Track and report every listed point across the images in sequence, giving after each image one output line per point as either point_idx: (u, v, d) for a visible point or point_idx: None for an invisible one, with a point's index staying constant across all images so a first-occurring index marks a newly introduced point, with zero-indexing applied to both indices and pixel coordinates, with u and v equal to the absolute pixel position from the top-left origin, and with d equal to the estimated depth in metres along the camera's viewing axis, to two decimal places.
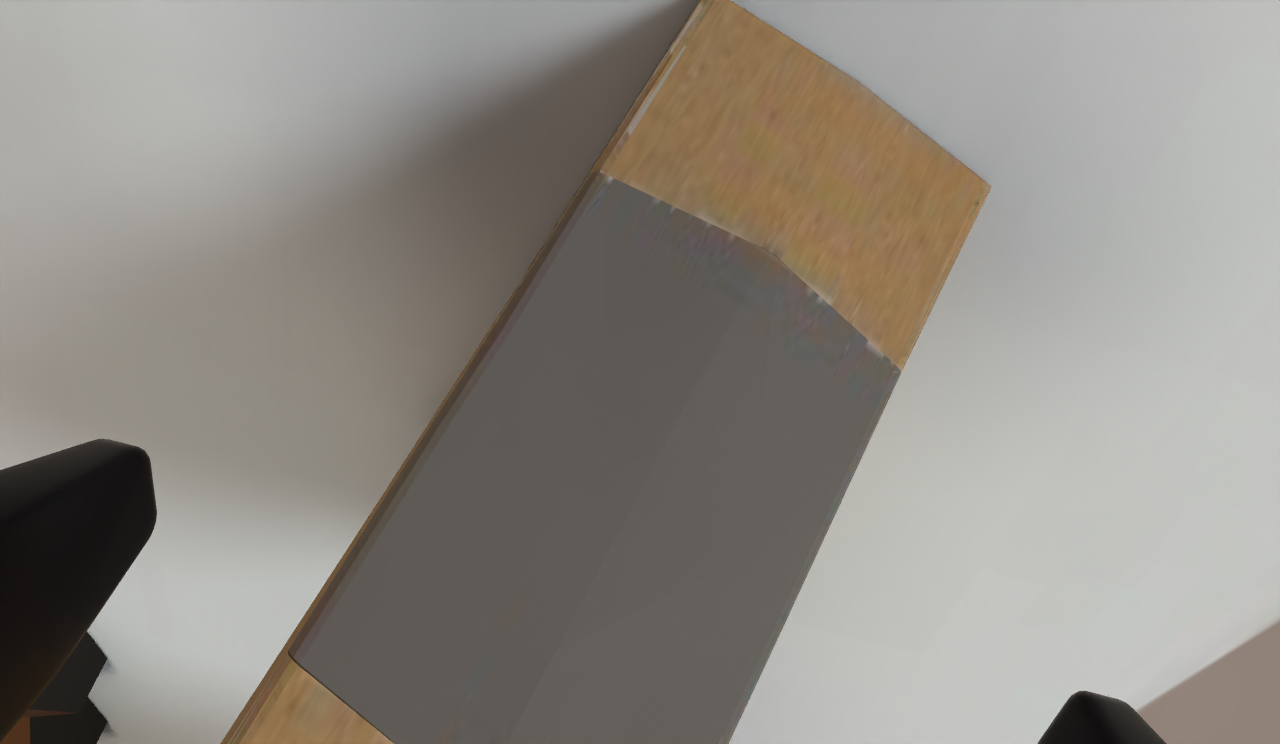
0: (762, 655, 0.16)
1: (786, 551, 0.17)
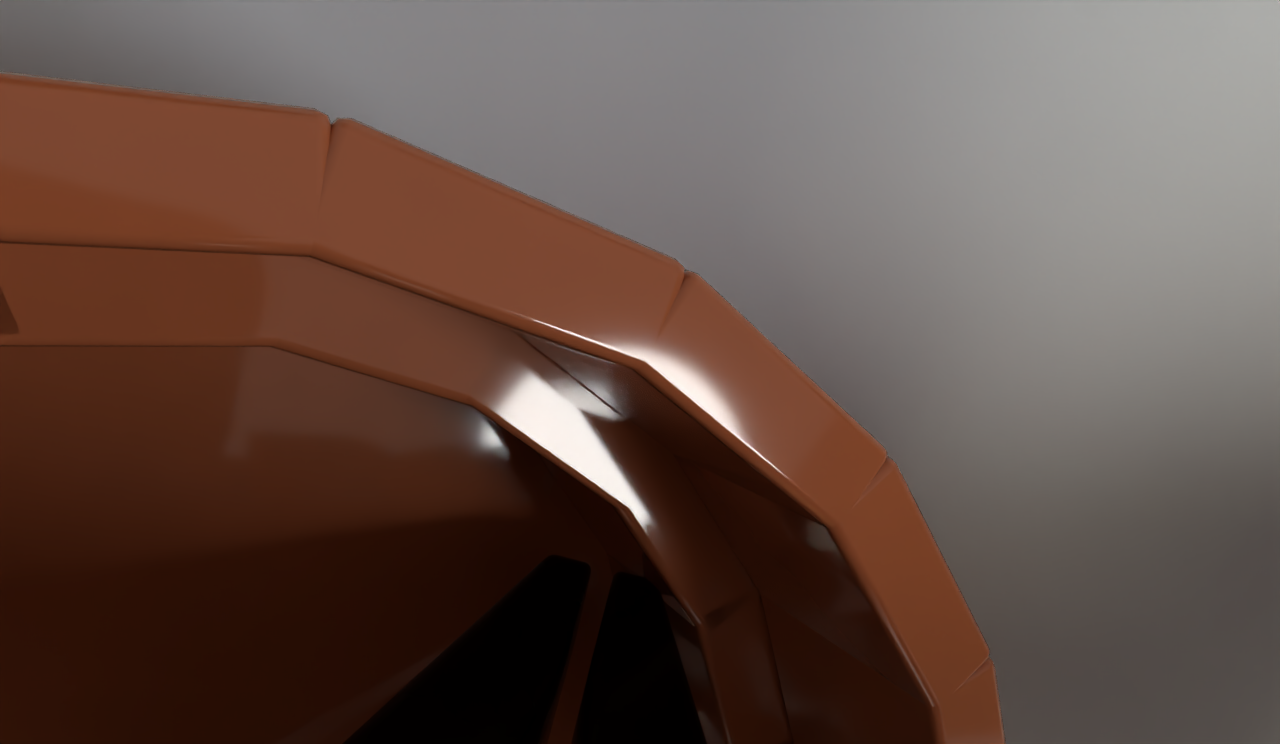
0: None
1: None
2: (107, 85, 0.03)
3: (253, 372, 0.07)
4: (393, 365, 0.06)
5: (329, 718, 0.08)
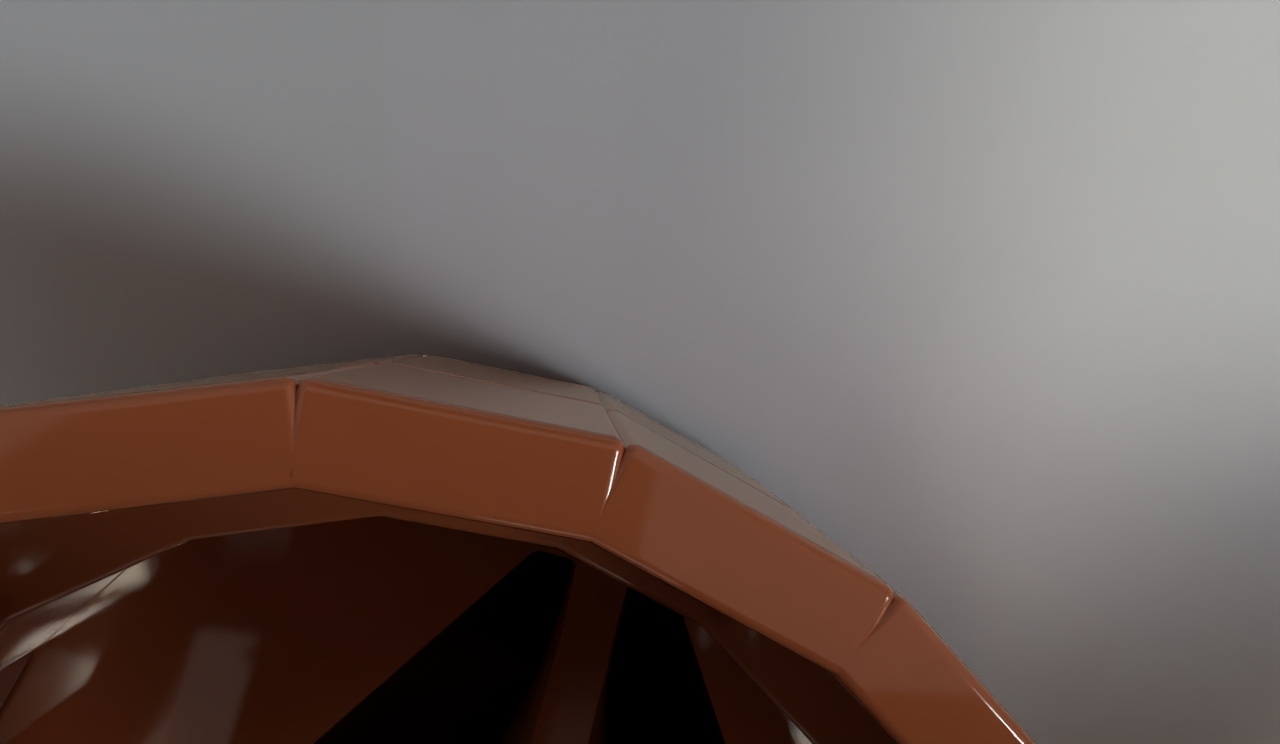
0: None
1: None
2: (486, 413, 0.04)
3: None
4: (644, 581, 0.07)
5: None
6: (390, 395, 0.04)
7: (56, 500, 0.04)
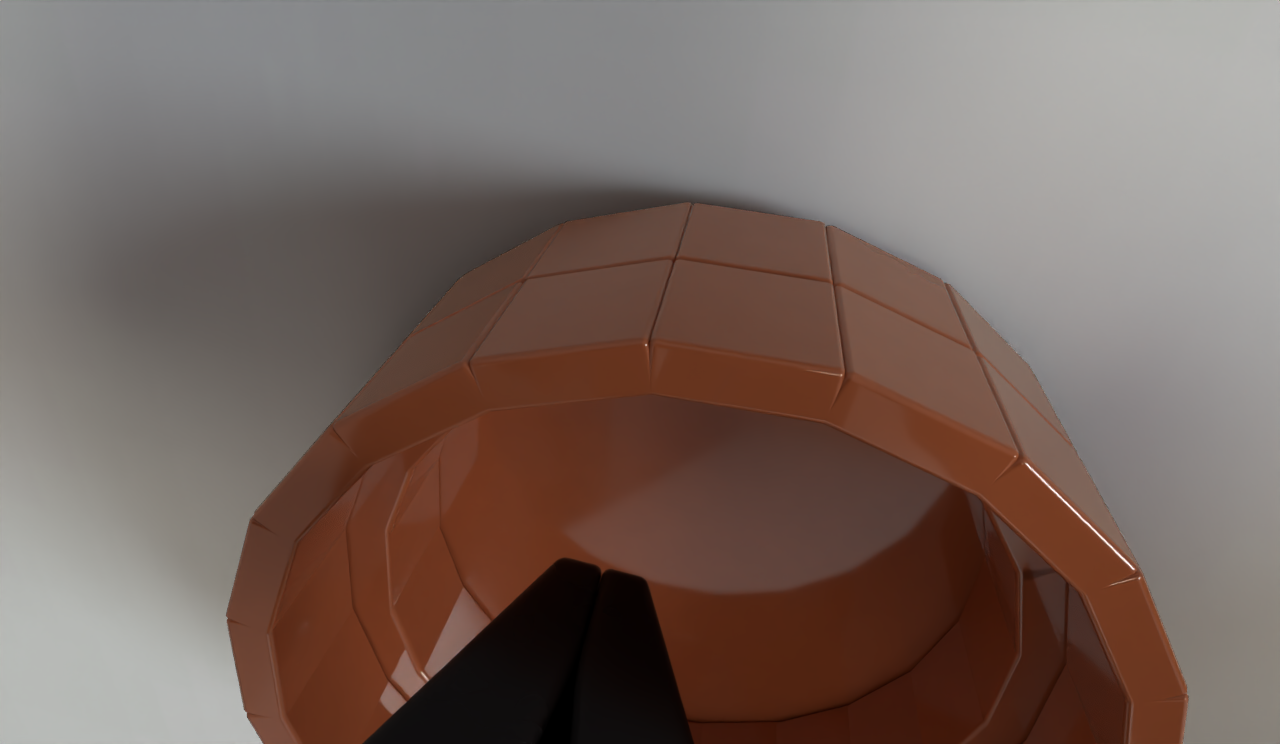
0: None
1: None
2: (758, 355, 0.07)
3: None
4: None
5: (781, 519, 0.13)
6: (701, 344, 0.07)
7: (531, 401, 0.08)
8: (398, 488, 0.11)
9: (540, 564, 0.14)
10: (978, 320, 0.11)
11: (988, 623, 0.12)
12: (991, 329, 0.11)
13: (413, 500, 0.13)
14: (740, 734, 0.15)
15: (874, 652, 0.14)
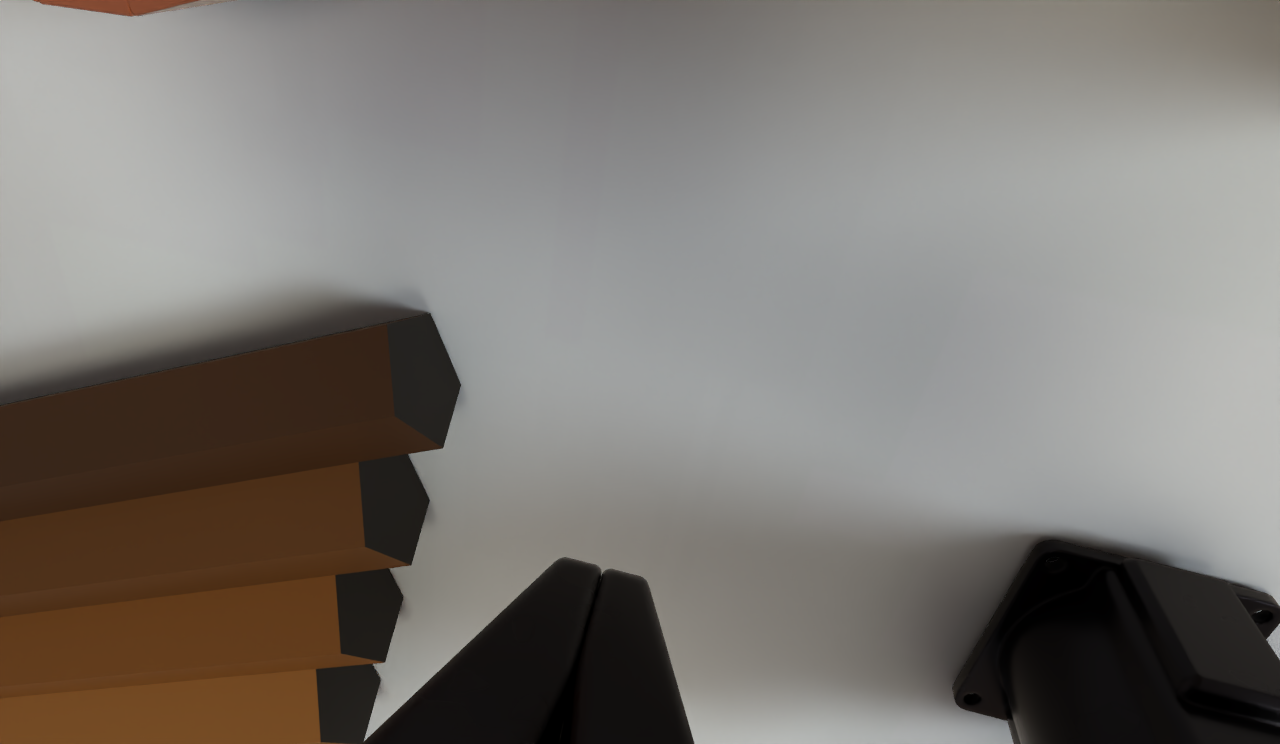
0: None
1: None
2: None
3: None
4: None
5: None
6: None
7: None
8: None
9: None
10: None
11: None
12: None
13: None
14: None
15: None
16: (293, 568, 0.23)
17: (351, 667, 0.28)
